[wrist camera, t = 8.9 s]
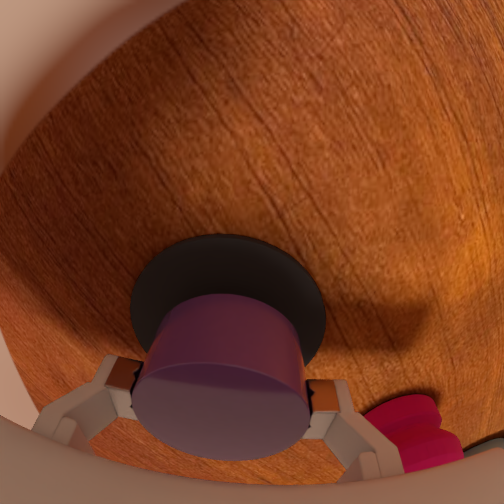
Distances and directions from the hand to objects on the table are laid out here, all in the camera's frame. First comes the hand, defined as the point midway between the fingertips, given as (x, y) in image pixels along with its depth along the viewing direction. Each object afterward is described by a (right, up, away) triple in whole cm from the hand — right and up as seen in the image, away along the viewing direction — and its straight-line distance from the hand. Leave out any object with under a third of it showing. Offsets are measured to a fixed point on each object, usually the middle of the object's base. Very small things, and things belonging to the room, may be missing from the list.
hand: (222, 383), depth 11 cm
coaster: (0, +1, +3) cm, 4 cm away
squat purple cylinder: (0, +1, +1) cm, 2 cm away
